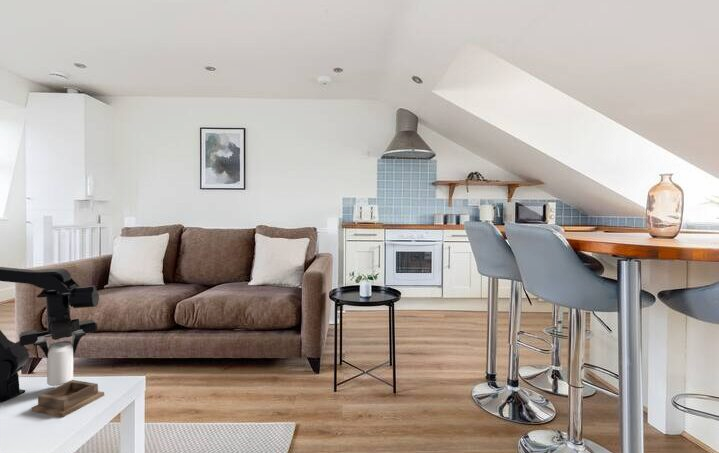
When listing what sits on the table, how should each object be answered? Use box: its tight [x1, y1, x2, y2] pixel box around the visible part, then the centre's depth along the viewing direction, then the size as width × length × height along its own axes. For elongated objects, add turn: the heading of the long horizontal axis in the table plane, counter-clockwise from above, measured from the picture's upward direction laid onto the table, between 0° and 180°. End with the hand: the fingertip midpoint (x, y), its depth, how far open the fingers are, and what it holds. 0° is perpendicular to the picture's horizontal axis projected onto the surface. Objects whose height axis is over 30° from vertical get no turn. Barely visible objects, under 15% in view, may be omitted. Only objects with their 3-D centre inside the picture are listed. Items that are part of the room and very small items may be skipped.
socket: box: [31, 379, 105, 418], centre depth 109 cm, size 12×12×4 cm
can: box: [46, 340, 74, 387], centre depth 117 cm, size 6×6×12 cm
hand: (61, 358), depth 117 cm, fingers closed on can, 5 cm apart
